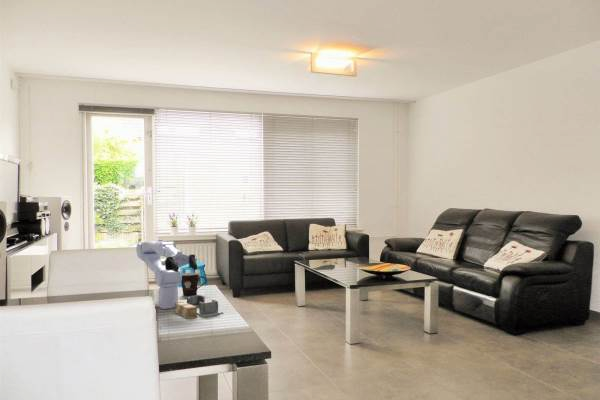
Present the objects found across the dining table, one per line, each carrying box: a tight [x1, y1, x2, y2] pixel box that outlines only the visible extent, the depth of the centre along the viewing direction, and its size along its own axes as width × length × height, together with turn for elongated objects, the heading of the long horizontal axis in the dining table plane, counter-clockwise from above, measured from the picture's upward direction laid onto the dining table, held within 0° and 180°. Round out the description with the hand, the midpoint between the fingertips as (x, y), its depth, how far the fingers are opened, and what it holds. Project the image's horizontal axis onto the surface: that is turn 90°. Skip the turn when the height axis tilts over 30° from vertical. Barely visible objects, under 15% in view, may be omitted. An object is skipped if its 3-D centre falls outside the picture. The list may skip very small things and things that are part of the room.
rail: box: [174, 301, 198, 319], centre depth 185 cm, size 14×4×4 cm, turn 36°
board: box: [197, 308, 224, 318], centre depth 189 cm, size 19×8×1 cm, turn 36°
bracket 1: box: [186, 294, 206, 308], centre depth 194 cm, size 4×6×4 cm, turn 126°
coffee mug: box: [180, 272, 207, 297], centre depth 225 cm, size 12×9×10 cm
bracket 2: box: [199, 299, 219, 315], centre depth 184 cm, size 4×6×4 cm, turn 126°
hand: (187, 268), depth 183 cm, fingers open, 7 cm apart
